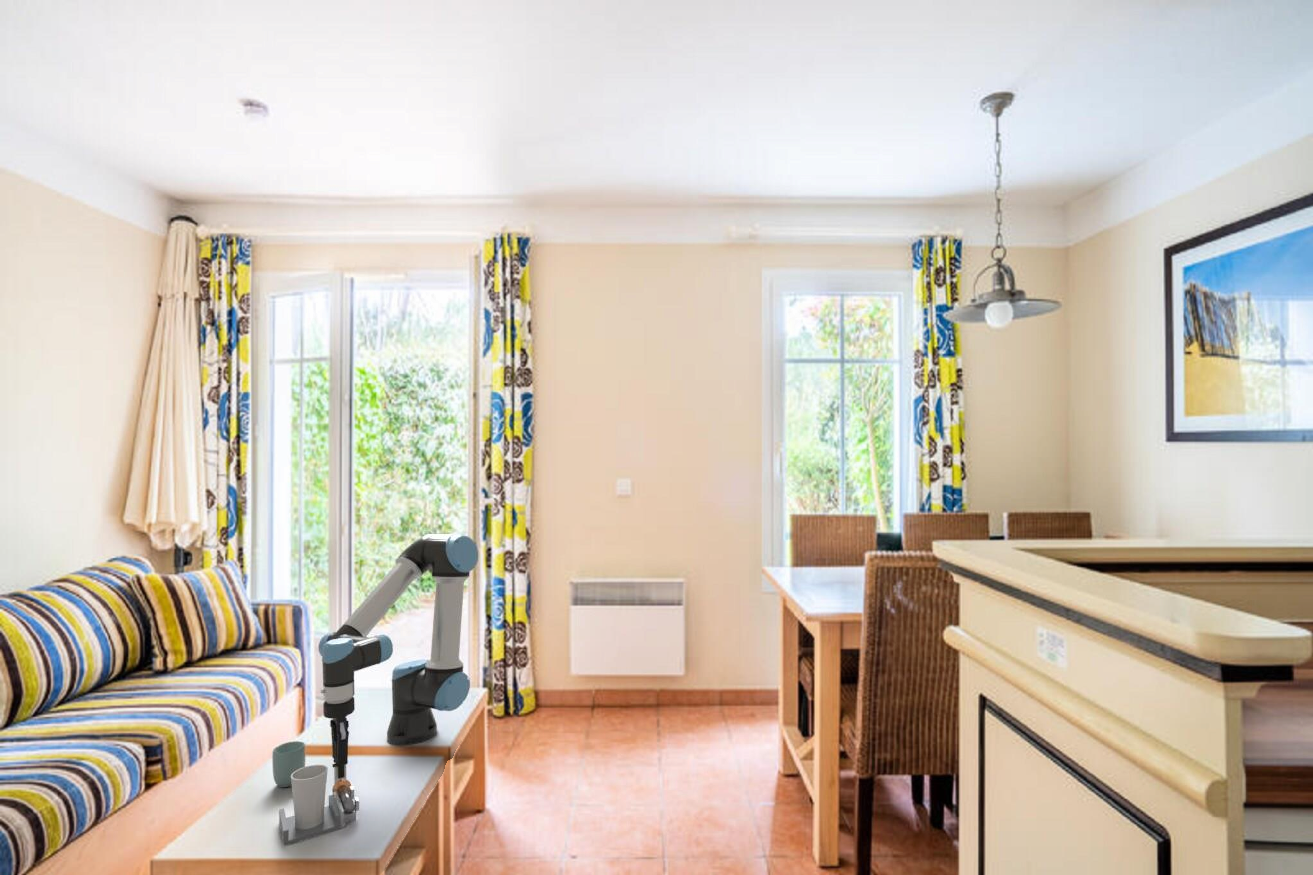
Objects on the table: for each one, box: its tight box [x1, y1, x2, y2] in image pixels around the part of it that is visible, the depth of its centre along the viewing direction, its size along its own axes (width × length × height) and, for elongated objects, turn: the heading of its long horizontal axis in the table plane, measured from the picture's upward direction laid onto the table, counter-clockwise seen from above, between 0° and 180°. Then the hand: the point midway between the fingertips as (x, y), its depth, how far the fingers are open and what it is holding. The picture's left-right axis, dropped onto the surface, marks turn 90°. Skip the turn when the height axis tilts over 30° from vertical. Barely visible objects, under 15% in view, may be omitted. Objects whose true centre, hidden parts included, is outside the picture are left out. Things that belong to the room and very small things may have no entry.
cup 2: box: [291, 764, 328, 829], centre depth 161 cm, size 8×8×12 cm
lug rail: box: [332, 785, 360, 829], centre depth 166 cm, size 4×12×4 cm, turn 34°
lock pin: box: [331, 778, 355, 814], centre depth 167 cm, size 13×4×4 cm, turn 34°
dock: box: [278, 794, 342, 847], centre depth 161 cm, size 12×12×3 cm
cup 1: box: [271, 740, 306, 788], centre depth 183 cm, size 8×8×10 cm
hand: (340, 788), depth 176 cm, fingers closed
